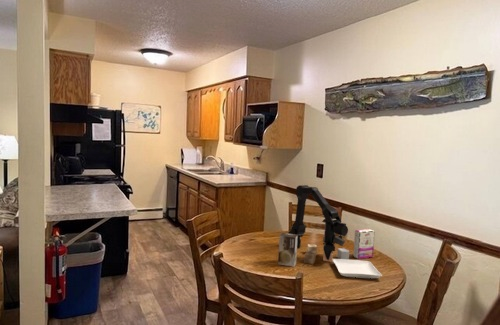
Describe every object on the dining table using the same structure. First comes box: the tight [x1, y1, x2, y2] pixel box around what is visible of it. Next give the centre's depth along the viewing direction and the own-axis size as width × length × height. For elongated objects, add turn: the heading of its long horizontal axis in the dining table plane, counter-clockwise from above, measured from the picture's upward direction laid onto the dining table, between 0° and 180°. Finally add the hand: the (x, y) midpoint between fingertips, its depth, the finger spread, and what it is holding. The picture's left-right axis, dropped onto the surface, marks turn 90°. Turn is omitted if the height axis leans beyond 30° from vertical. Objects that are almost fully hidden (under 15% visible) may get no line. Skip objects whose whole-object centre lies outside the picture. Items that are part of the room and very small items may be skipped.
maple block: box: [306, 243, 318, 256], centre depth 208 cm, size 5×5×5 cm
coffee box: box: [277, 232, 298, 268], centre depth 189 cm, size 9×6×16 cm
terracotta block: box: [322, 251, 334, 263], centre depth 199 cm, size 5×5×5 cm
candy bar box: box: [352, 228, 376, 260], centre depth 207 cm, size 11×5×16 cm, turn 112°
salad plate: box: [332, 258, 383, 279], centre depth 184 cm, size 21×21×3 cm
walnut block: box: [303, 251, 317, 265], centre depth 194 cm, size 5×5×5 cm
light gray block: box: [336, 248, 350, 260], centre depth 204 cm, size 5×5×5 cm
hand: (327, 258), depth 199 cm, fingers closed on terracotta block, 5 cm apart
